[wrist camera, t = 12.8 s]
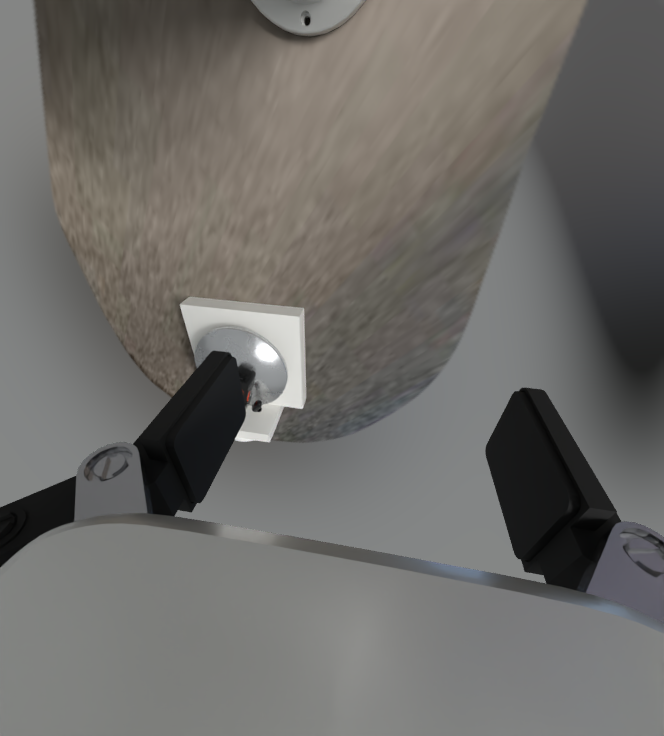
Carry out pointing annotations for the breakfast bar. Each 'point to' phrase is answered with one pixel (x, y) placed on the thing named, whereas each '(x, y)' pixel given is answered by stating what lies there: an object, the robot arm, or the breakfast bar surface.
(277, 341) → the kitchen scale
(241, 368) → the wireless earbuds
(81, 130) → the breakfast bar surface
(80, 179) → the breakfast bar surface
